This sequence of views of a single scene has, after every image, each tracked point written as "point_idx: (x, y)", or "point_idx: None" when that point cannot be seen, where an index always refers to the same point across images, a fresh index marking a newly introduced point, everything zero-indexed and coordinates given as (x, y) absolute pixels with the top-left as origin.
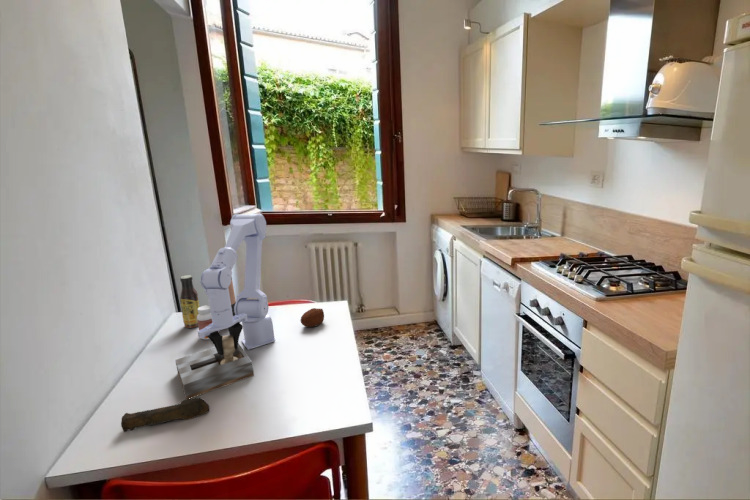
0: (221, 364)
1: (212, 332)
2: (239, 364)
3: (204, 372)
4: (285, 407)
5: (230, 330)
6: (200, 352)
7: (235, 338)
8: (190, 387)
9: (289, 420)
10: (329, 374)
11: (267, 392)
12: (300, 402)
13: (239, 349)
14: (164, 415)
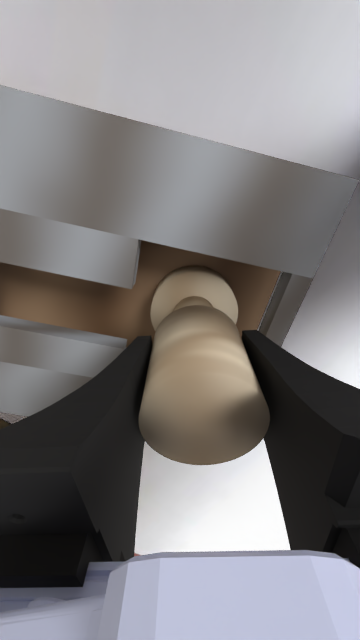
0: (151, 314)
1: (21, 603)
2: None
3: (42, 384)
4: (191, 523)
5: (297, 451)
6: (68, 111)
7: (265, 441)
8: None
9: (173, 544)
10: None
11: (196, 476)
12: (220, 530)
13: (275, 319)
14: None
